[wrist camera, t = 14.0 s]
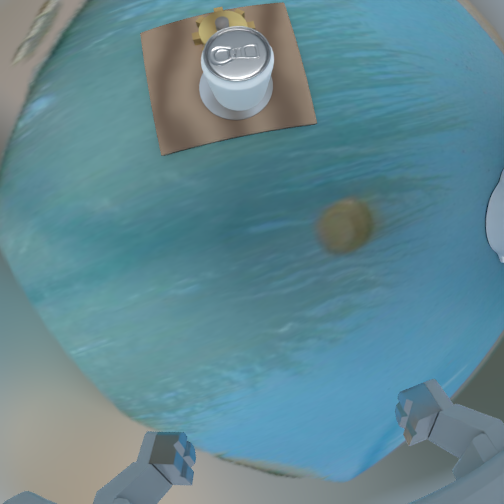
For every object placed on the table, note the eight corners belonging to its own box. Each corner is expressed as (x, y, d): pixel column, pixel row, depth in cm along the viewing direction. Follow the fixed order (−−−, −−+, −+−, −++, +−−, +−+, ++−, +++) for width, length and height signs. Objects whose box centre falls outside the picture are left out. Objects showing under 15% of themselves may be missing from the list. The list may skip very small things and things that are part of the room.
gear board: (282, 6, 28) (288, -14, 23) (314, 124, 34) (326, 118, 29) (143, 36, 29) (129, 20, 24) (164, 155, 35) (150, 154, 29)
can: (209, 69, 30) (193, 29, 18) (261, 61, 29) (269, 18, 18) (217, 115, 32) (203, 92, 20) (270, 107, 31) (282, 80, 20)
